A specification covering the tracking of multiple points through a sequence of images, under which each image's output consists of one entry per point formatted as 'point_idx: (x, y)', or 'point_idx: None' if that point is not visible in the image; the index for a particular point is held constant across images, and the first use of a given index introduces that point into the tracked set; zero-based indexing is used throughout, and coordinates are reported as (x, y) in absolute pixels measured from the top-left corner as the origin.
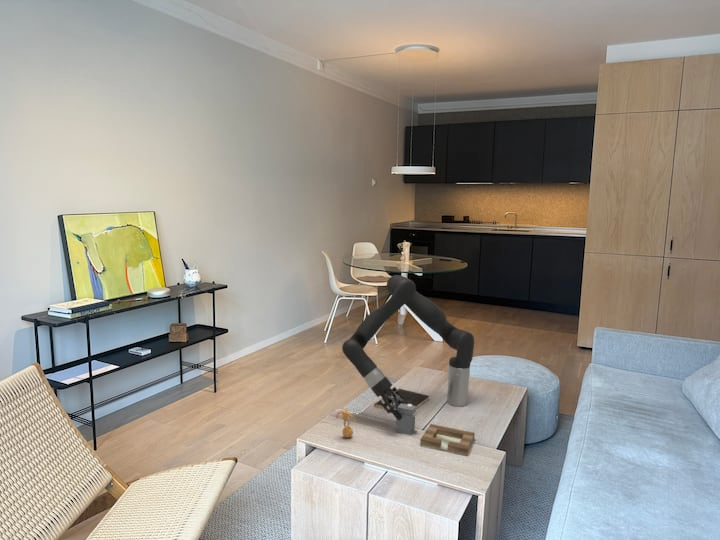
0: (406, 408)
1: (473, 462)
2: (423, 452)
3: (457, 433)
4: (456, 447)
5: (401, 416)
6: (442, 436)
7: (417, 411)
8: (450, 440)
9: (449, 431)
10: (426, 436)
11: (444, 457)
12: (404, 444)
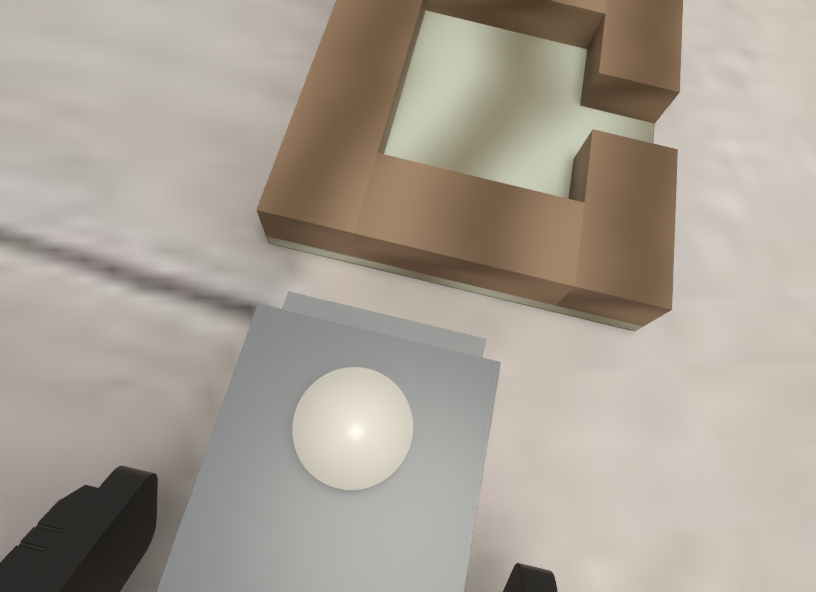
0: (453, 503)
1: (721, 2)
2: (738, 301)
3: (420, 10)
4: (678, 43)
5: (553, 586)
6: (414, 143)
7: (303, 300)
8: (472, 92)
9: (403, 61)
10: (589, 253)
11: (742, 155)
12: (663, 481)
